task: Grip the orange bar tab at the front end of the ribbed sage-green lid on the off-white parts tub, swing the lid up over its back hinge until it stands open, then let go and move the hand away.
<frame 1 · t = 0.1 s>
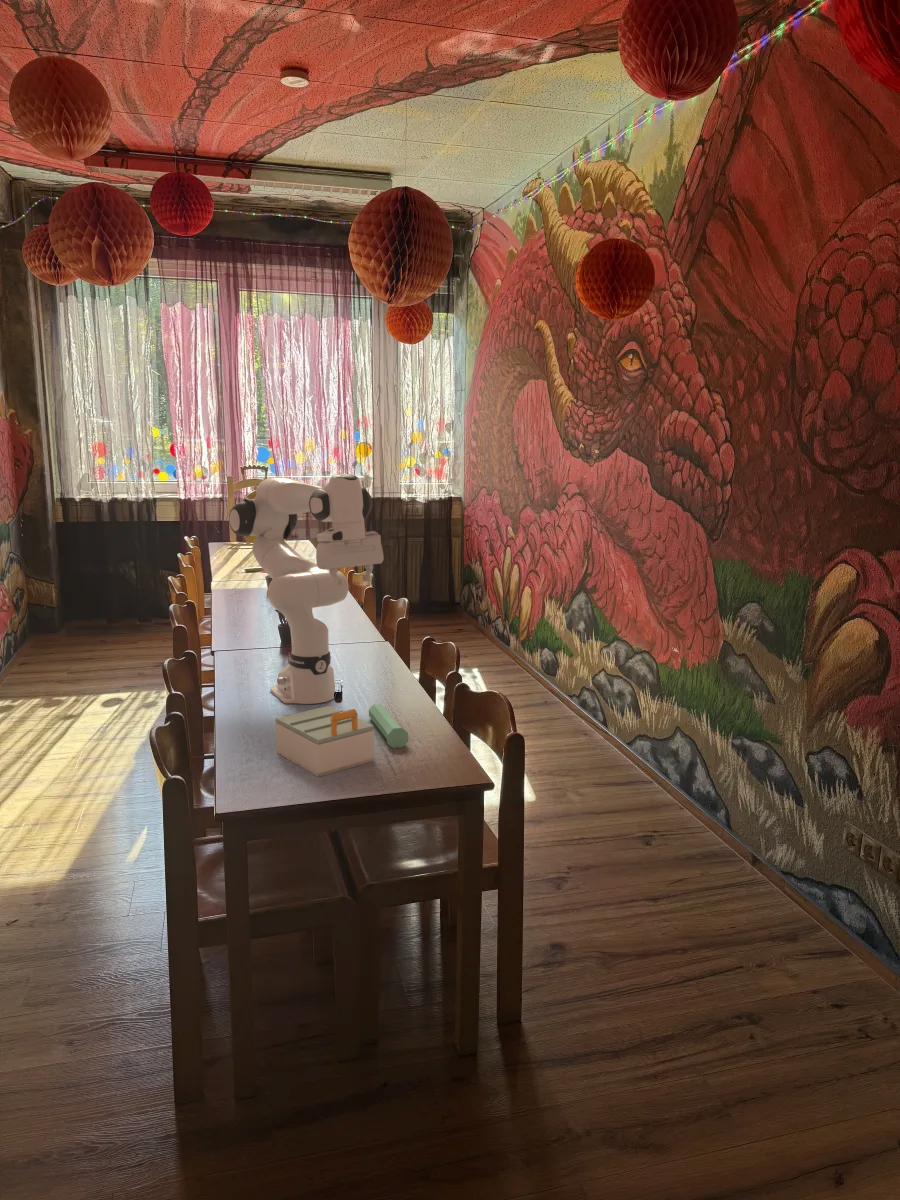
hand: (352, 583, 239), 39 cm above the table, tool pointing down, fingers open, 8 cm apart
parts tub: (325, 756, 216), on the table
lid: (324, 714, 214), point 11 cm above the table, hinge at 0.0°
green octagonal rod: (386, 733, 235), on the table
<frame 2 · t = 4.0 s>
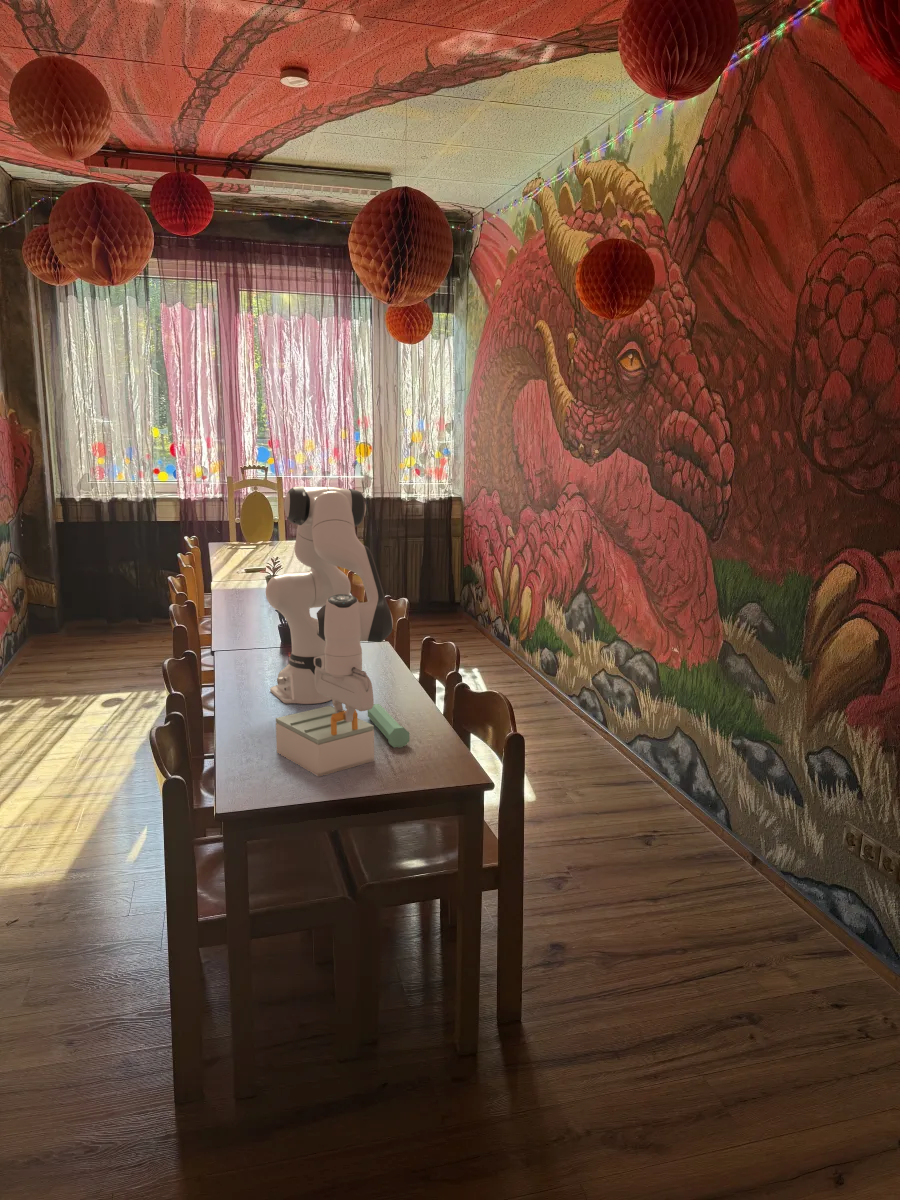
hand: (344, 719, 207), 12 cm above the table, tool pointing down, fingers closed, pressing on lid
lid: (324, 714, 214), point 11 cm above the table, hinge at 0.0°, touching gripper
everything else where it was.
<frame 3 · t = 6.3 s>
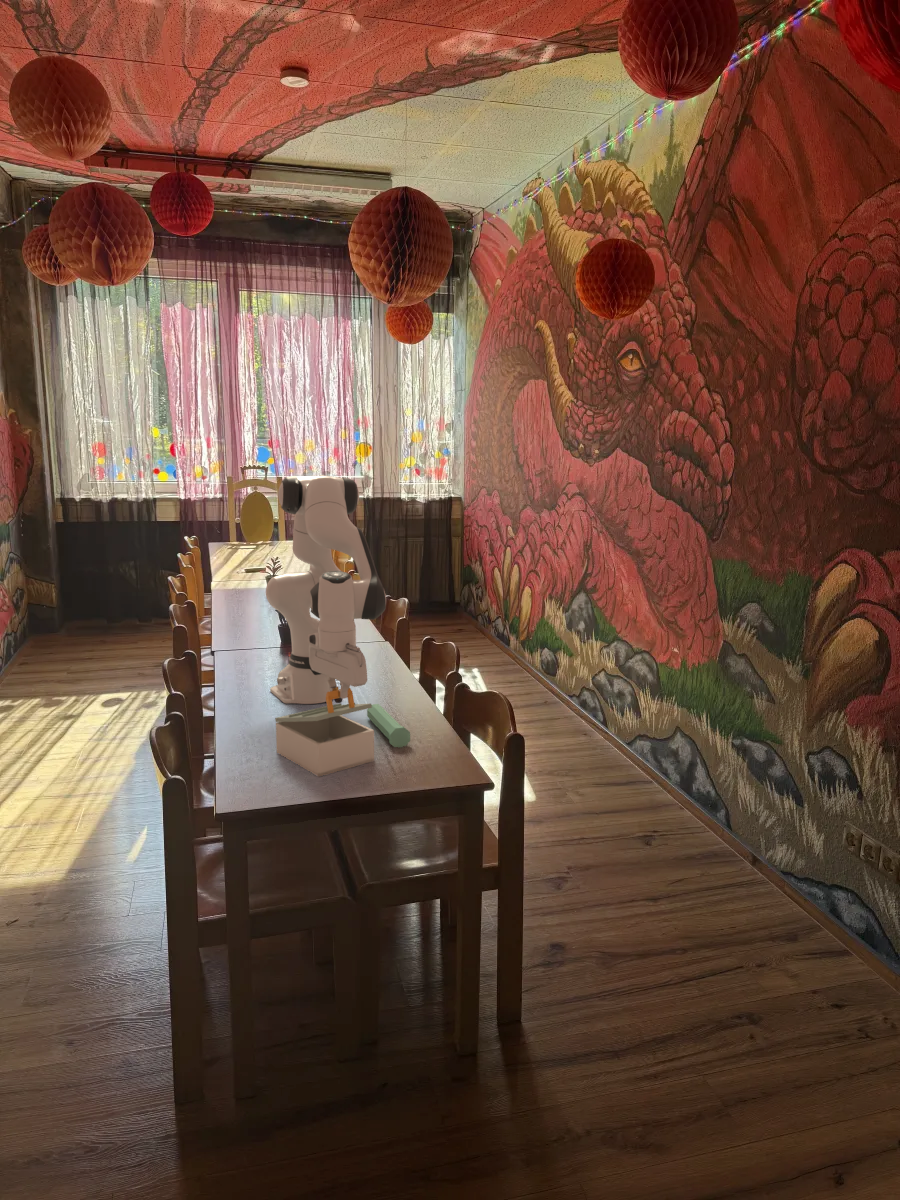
hand: (338, 695, 208), 18 cm above the table, tool pointing down, fingers closed
lid: (321, 702, 214), point 14 cm above the table, hinge at 15.8°, touching gripper
everything else where it was.
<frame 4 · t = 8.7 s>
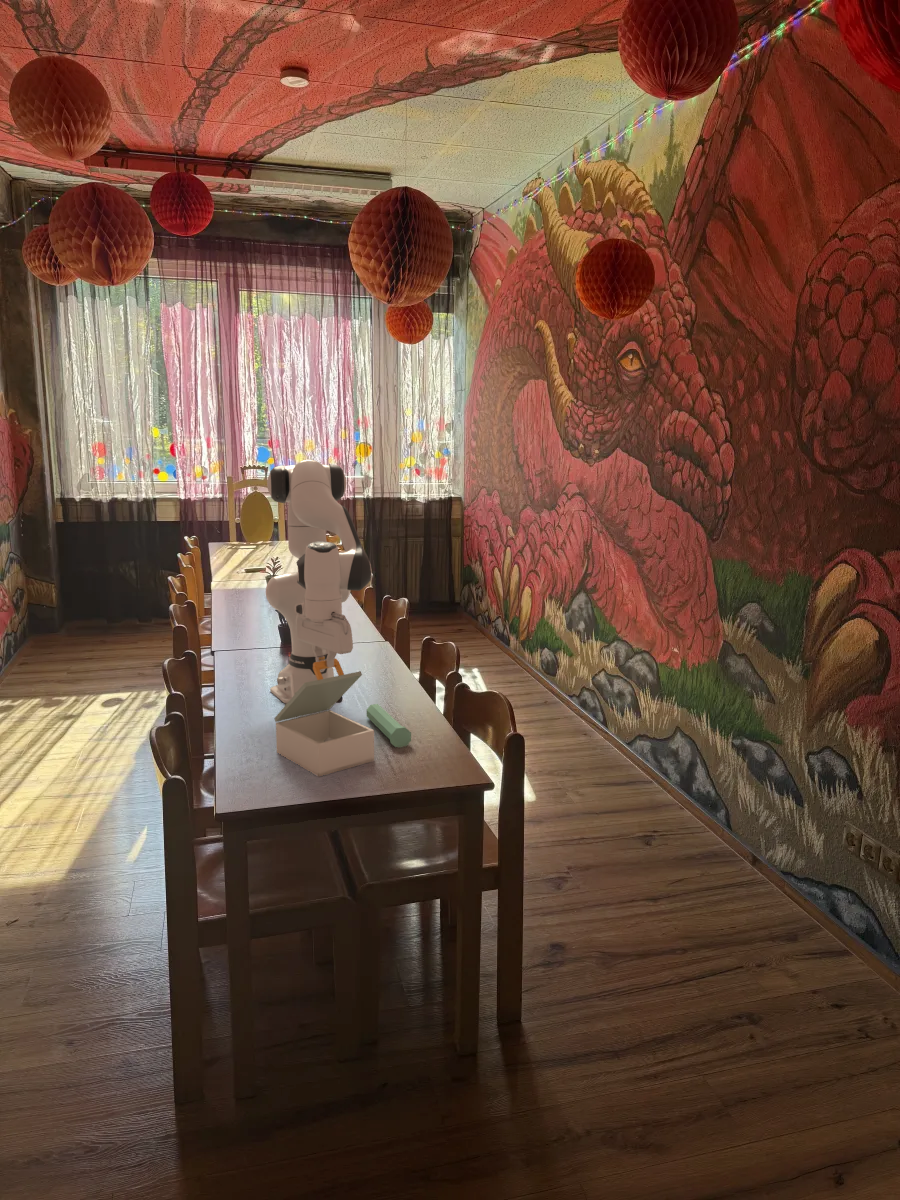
hand: (324, 664, 211), 24 cm above the table, tool pointing down, fingers open, 3 cm apart
lid: (314, 688, 216), point 17 cm above the table, hinge at 40.3°, touching gripper
everything else where it was.
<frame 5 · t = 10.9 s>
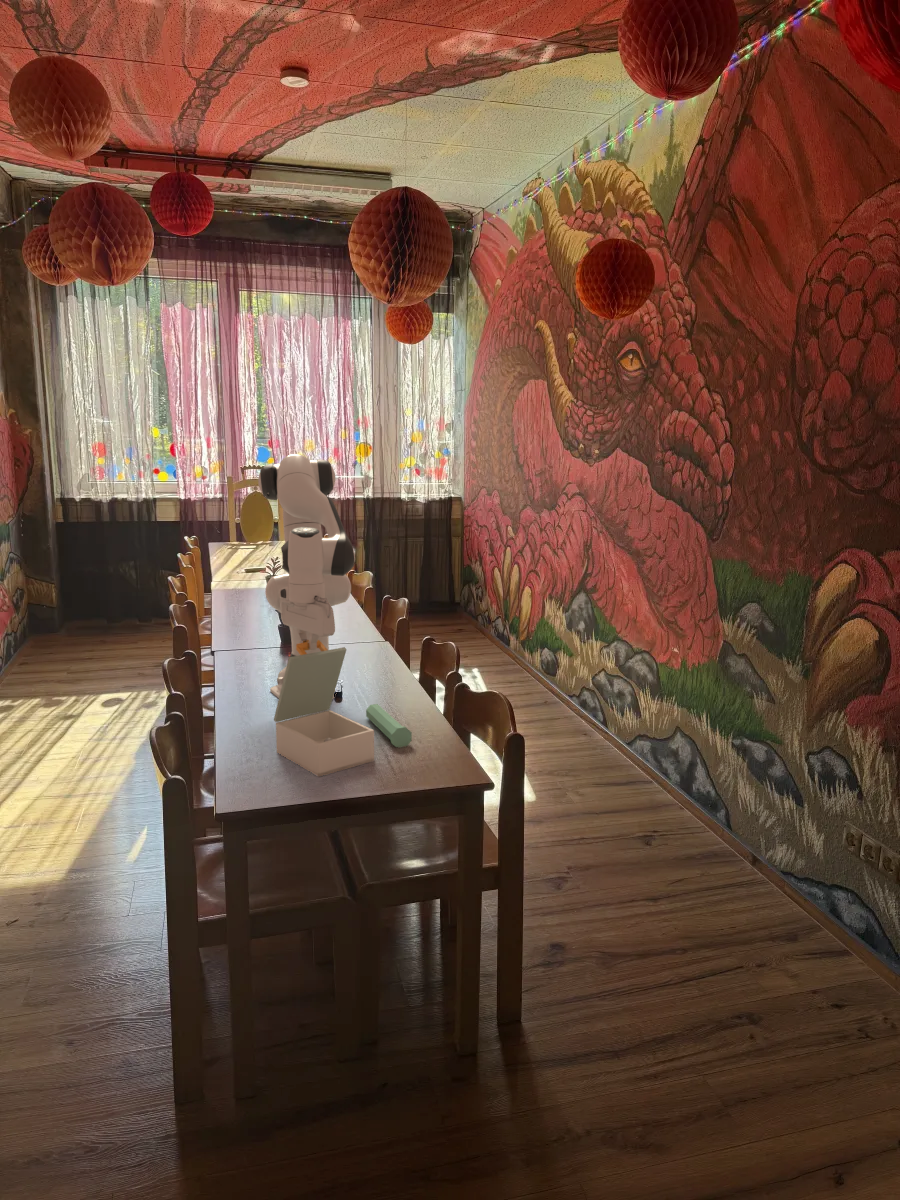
hand: (308, 647, 216), 27 cm above the table, tool pointing down, fingers closed
lid: (305, 678, 219), point 18 cm above the table, hinge at 64.7°, touching gripper
everything else where it was.
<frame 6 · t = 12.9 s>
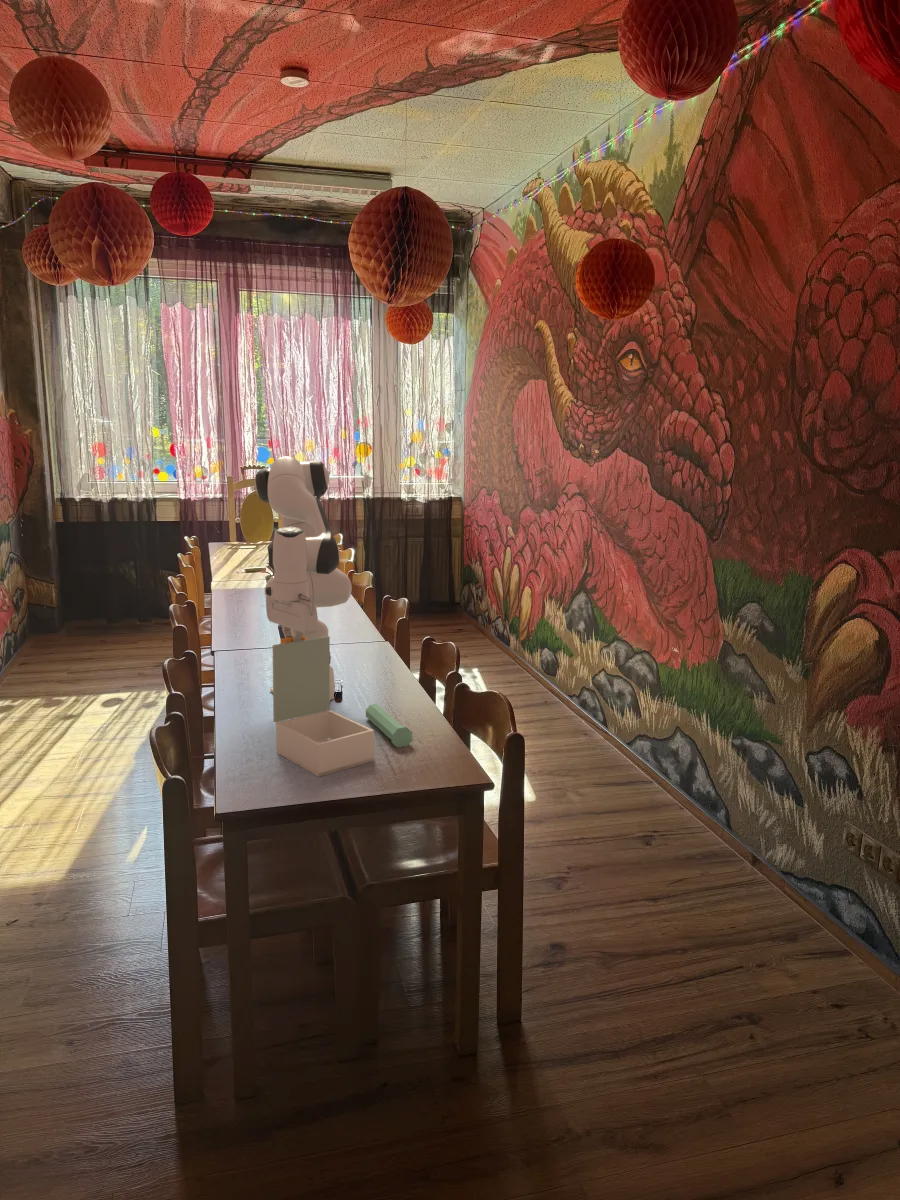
hand: (292, 644, 222), 26 cm above the table, tool pointing down, fingers closed, pressing on lid
lid: (296, 676, 222), point 18 cm above the table, hinge at 87.9°, touching gripper
everything else where it was.
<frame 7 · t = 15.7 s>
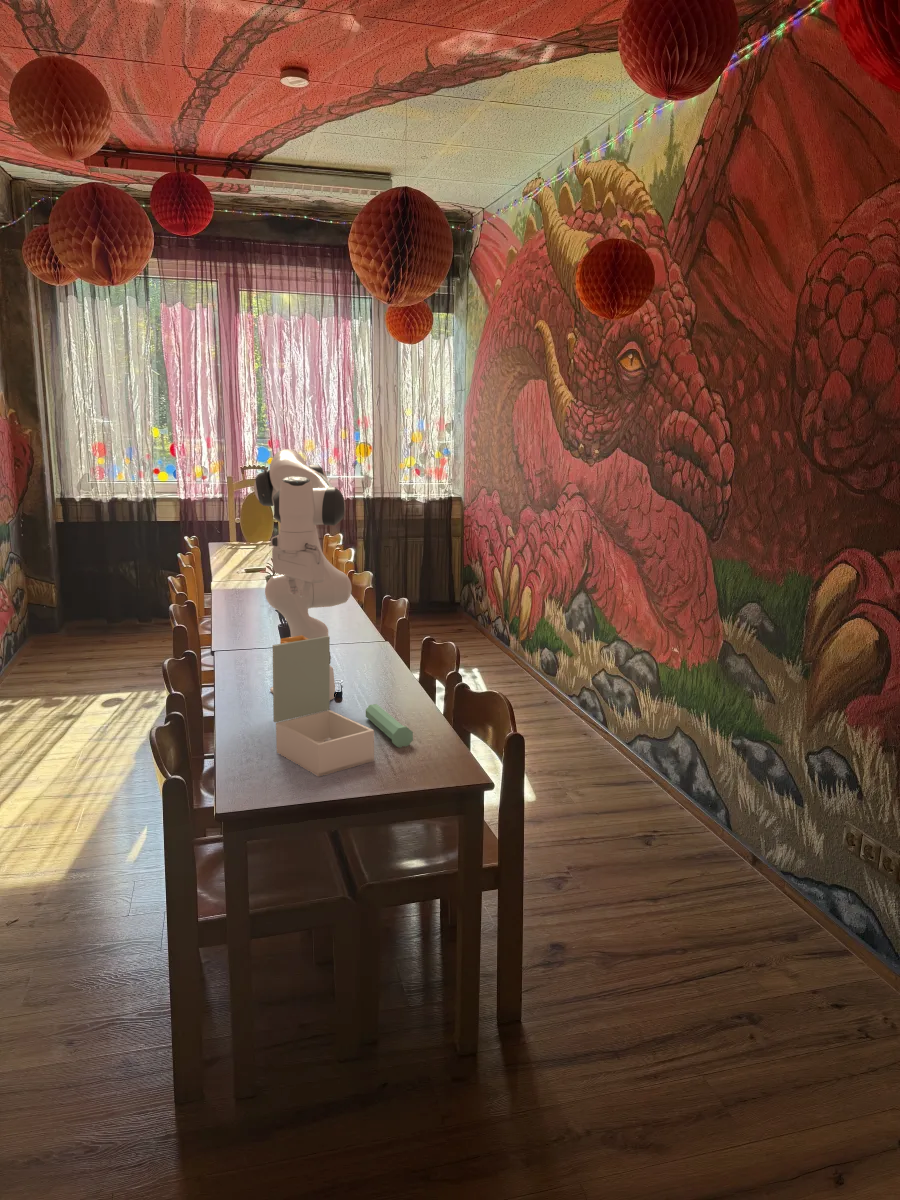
hand: (299, 595, 221), 39 cm above the table, tool pointing down, fingers open, 4 cm apart
lid: (296, 676, 222), point 18 cm above the table, hinge at 87.9°
everything else where it was.
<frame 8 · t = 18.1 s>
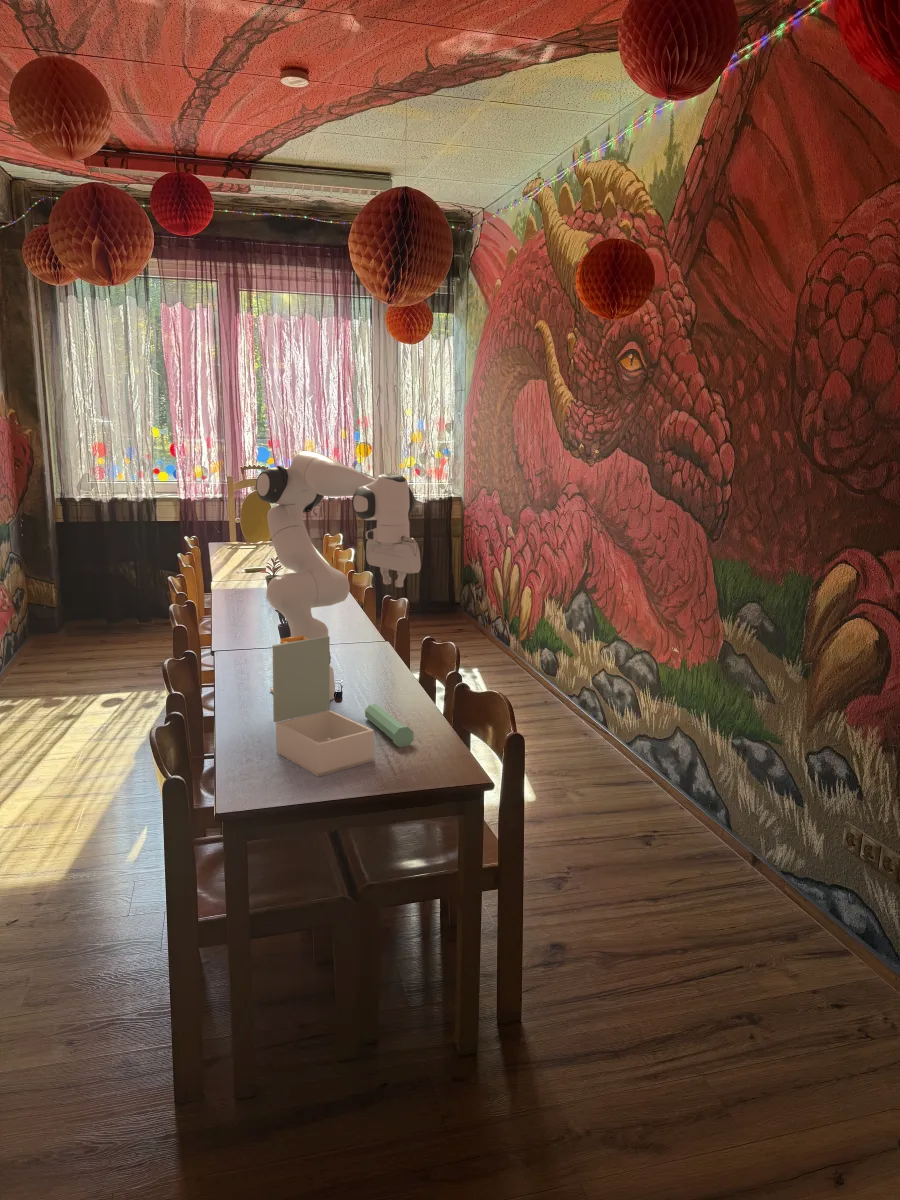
hand: (393, 585, 235), 39 cm above the table, tool pointing down, fingers open, 4 cm apart
nothing on the table moved.
at the end: lid at +88° (first picture: +0°); the gripper is holding nothing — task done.
